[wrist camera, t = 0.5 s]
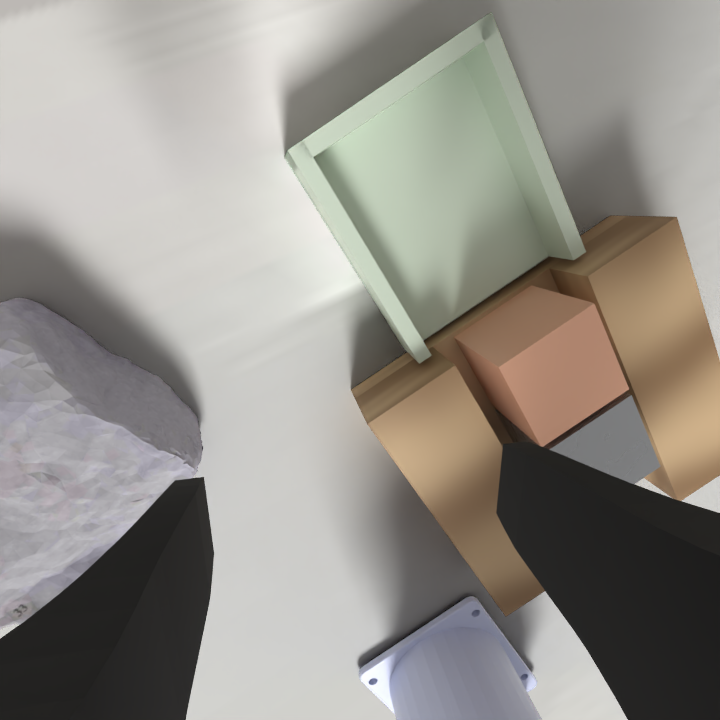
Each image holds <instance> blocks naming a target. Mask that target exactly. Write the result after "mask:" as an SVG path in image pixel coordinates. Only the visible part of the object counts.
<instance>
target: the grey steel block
mask: <svg viewBox="0 0 720 720" xmlns="http://www.w3.org/2000/svg"><path fill="white" fill-rule="evenodd" d="M495 411H496V413H497V414H498V416H499V418H500V420H501V422H502V423H503V425H504V427H505V429H506V430H507V432H508V434H509V436H510V437H511V439H512V441H513V443H515V442H524V441H526V442H529V443H533V444H536V445H538V444H537V443H536V442H534V441H533V440H532V439H531V438H530V437H529V436H527V435H526V434H525V433H524V432H523V431H522V430H520V429H519V428H518V427H517V426H516V425H515V424H513V423H512V422H511V421H510V420H509V419H508V418H506V417H505V416H504V415H503V414H502V413H501V412H500V411H498V410H497V409H496V410H495ZM543 447H544V448H547V449H549V450H552V451H554V452H557V453H559V454H561V455H564V456H566V457H569V458H571V459H573V460H576V461H578V462H581V463H583V464H585V465H588V466H590V467H592V468H595V469H597V470H600V471H602V472H604V473H607V474H609V475H612V476H614V477H617V478H619V479H622V480H624V481H627V482H629V483H632V484H635V483H637V482H638V481H640V480H641V479H643V478H644V477H646V476H647V475H649V474H650V473H652V472H653V471H655V470H656V469H658V468H659V467H661V466H660V464H659V461H658V459H657V456H656V454H655V451H654V449H653V446H652V444H651V441H650V439H649V437H648V434H647V432H646V429H645V427H644V424H643V422H642V419H641V417H640V414H639V412H638V410H637V407H636V405H635V402H634V400H633V397H632V395H631V394H629V393H627V392H624V393H623V394H621V395H620V396H618V397H617V398H615V399H614V400H612V401H611V402H609V403H608V404H606V405H605V406H603V407H602V408H600V409H599V410H597V411H596V412H594V413H593V414H591V415H590V416H588V417H587V418H585V419H584V420H582V421H581V422H579V423H578V424H576V425H575V426H573V427H572V428H570V429H569V430H567V431H566V432H564V433H563V434H561V435H560V436H558V437H557V438H555V439H554V440H552V441H551V442H549V443H548V444H546V445H545V446H543Z"/></svg>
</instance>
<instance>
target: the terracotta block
mask: <svg viewBox="0 0 720 720" xmlns="http://www.w3.org/2000/svg"><path fill="white" fill-rule="evenodd" d="M454 338H455V340H456V342H457V344H458V345H459V347H460V349H461V351H462V353H463V354H464V356H465V358H466V360H467V361H468V363H469V365H470V367H471V368H472V370H473V372H474V374H475V376H476V377H477V379H478V381H479V383H480V384H481V386H482V388H483V390H484V391H485V393H486V395H487V397H488V399H489V400H490V402H491V404H492V405H493V406H494V407H495V408H496V409H497V410H498V411H500V412H501V413H502V414H503V415H504V416H505V417H506V418H508V419H509V420H510V421H511V422H512V423H513V424H515V425H516V426H517V427H518V428H519V429H520V430H522V431H523V432H524V433H525V434H526V435H527V436H529V437H530V438H531V439H532V440H533V441H534V442H536V443H537V444H538V445H539V446H541V447H543V446H545V445H546V444H548V443H549V442H551V441H552V440H554V439H555V438H557V437H558V436H560V435H561V434H563V433H564V432H566V431H567V430H569V429H570V428H572V427H573V426H575V425H576V424H578V423H579V422H581V421H582V420H584V419H585V418H587V417H588V416H590V415H591V414H593V413H594V412H596V411H597V410H599V409H600V408H602V407H603V406H605V405H606V404H608V403H609V402H611V401H612V400H614V399H615V398H617V397H618V396H620V395H621V394H623V393H624V392H626V391H627V390H629V387H628V385H627V382H626V380H625V378H624V375H623V373H622V370H621V368H620V365H619V363H618V360H617V358H616V355H615V353H614V350H613V348H612V346H611V343H610V341H609V338H608V336H607V333H606V331H605V328H604V326H603V323H602V321H601V318H600V316H599V314H598V311H597V309H596V306H595V304H594V303H591V302H588V301H584V300H581V299H577V298H574V297H570V296H567V295H563V294H560V293H556V292H553V291H549V290H546V289H542V288H539V287H536V286H532V285H531V286H529V287H528V288H526V289H525V290H523V291H522V292H521V293H519V294H518V295H516V296H515V297H513V298H512V299H510V300H509V301H507V302H506V303H504V304H503V305H501V306H500V307H498V308H497V309H495V310H494V311H492V312H491V313H489V314H488V315H486V316H485V317H483V318H482V319H480V320H479V321H477V322H476V323H474V324H473V325H471V326H470V327H468V328H467V329H465V330H464V331H462V332H461V333H459V334H458V335H456V336H455V337H454Z"/></svg>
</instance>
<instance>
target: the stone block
mask: <svg viewBox="0 0 720 720" xmlns="http://www.w3.org/2000/svg"><path fill="white" fill-rule="evenodd" d="M202 450H203V446H202V441H201V432H200V429H199V425H198V417H197V416H196V415H195V414H194V413H193V411H192V410H191V409H190V408H189V407H188V406H187V405H186V404H184V403H183V402H182V400H181V399H180V398H179V397H178V396H177V395H176V394H175V392H174V391H173V390H172V388H171V387H170V386H169V385H168V384H166V383H165V382H164V381H163V380H162V379H161V378H160V377H159V376H157V375H154V374H151V373H150V372H148V371H146V370H144V369H142V368H140V367H138V366H137V365H135V364H133V363H132V362H131V361H130V360H129V359H127V358H124V357H120V356H117V355H114V354H111V353H110V352H109V351H107V350H106V349H105V348H104V347H102V346H100V345H99V344H98V343H97V342H96V341H95V340H94V339H93V338H92V337H91V336H89V335H87V334H86V333H85V332H84V331H83V330H82V329H80V328H79V327H77V326H75V325H74V324H72V323H71V322H69V321H68V320H66V319H65V318H63V317H61V316H60V315H58V314H56V313H54V312H53V311H51V310H49V309H47V308H46V307H45V306H44V305H43V304H40V303H37V302H34V301H32V300H30V299H25V298H14V299H10V300H7V301H4V302H0V630H1V629H3V628H6V627H8V626H11V625H13V624H19V625H20V624H22V623H23V622H24V621H26V620H27V619H28V618H29V617H31V616H32V615H33V614H35V613H36V612H37V611H38V610H40V609H41V608H42V607H43V606H45V605H46V604H47V603H48V602H50V601H51V600H52V599H53V598H55V597H56V596H57V595H58V594H60V593H61V592H62V591H63V590H64V589H66V588H67V587H68V586H69V585H70V584H71V583H73V582H74V581H75V580H76V579H77V578H78V577H80V576H81V575H82V574H83V573H84V572H85V571H86V570H87V569H88V568H89V567H90V566H92V565H93V564H94V563H95V562H96V561H97V560H98V559H99V558H100V557H101V556H102V555H103V554H104V553H105V552H106V551H107V550H108V549H110V548H111V547H112V546H113V545H114V544H115V543H116V542H117V541H118V540H119V539H120V538H121V537H122V536H123V535H124V534H125V533H126V532H127V531H128V530H129V529H130V528H131V527H132V526H133V525H134V523H135V522H136V521H137V520H138V519H139V518H140V517H141V516H142V515H143V514H144V513H145V512H146V511H147V510H148V509H149V508H150V506H151V505H152V504H153V503H154V502H155V501H156V500H157V499H158V498H159V497H160V496H161V494H162V493H163V492H164V491H165V490H166V489H167V488H168V487H169V486H170V485H171V484H172V483H173V482H174V481H175V480H182V479H191V478H192V477H193V476H194V475H195V474H196V472H197V471H198V470H197V468H198V465H199V463H200V461H201V456H202Z"/></svg>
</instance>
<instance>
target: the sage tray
mask: <svg viewBox="0 0 720 720" xmlns="http://www.w3.org/2000/svg"><path fill="white" fill-rule="evenodd" d="M285 159H286V161H287V162H288V164H289V166H290V167H291V169H292V170H293V172H294V174H295V175H296V177H297V178H298V180H299V182H300V183H301V185H302V186H303V188H304V190H305V191H306V193H307V194H308V196H309V198H310V199H311V201H312V202H313V204H314V206H315V207H316V209H317V211H318V212H319V214H320V215H321V217H322V219H323V220H324V222H325V223H326V225H327V227H328V228H329V230H330V231H331V233H332V235H333V236H334V238H335V239H336V241H337V243H338V244H339V246H340V247H341V249H342V251H343V252H344V254H345V255H346V257H347V259H348V260H349V262H350V263H351V265H352V267H353V268H354V270H355V271H356V273H357V275H358V276H359V278H360V279H361V281H362V283H363V284H364V286H365V287H366V289H367V291H368V292H369V294H370V295H371V297H372V299H373V300H374V302H375V303H376V305H377V307H378V308H379V310H380V311H381V313H382V315H383V316H384V318H385V319H386V321H387V323H388V324H389V326H390V327H391V329H392V331H393V332H394V334H395V335H396V337H397V339H398V340H399V342H400V344H401V345H402V347H403V348H404V349H405V350H406V351H407V352H408V353H409V354H410V355H411V356H412V357H413V358H414V359H415V360H416V361H417V362H418V363H419V364H420V363H421V362H423V361H424V360H426V359H427V358H429V357H430V356H432V355H431V353H430V352H429V350H428V348H427V347H426V345H425V343H424V342H423V340H425V339H426V338H428V337H429V336H431V335H432V334H434V333H435V332H437V331H438V330H440V329H441V328H442V327H444V326H445V325H447V324H448V323H450V322H451V321H453V320H454V319H456V318H457V317H459V316H460V315H462V314H463V313H465V312H466V311H468V310H469V309H471V308H472V307H474V306H475V305H477V304H478V303H480V302H481V301H483V300H484V299H486V298H487V297H489V296H490V295H492V294H493V293H495V292H496V291H498V290H499V289H501V288H502V287H504V286H505V285H507V284H508V283H510V282H511V281H513V280H514V279H515V278H517V277H518V276H520V275H521V274H523V273H524V272H526V271H527V270H529V269H530V268H532V267H533V266H535V265H536V264H538V263H539V262H541V261H542V260H544V259H545V258H547V257H548V256H550V257H556V258H562V259H568V260H575V259H576V258H578V257H579V256H581V255H582V254H584V253H585V252H586V250H585V248H584V245H583V243H582V240H581V238H580V235H579V232H578V230H577V227H576V225H575V222H574V220H573V217H572V215H571V212H570V210H569V207H568V205H567V202H566V200H565V197H564V194H563V192H562V189H561V187H560V184H559V182H558V179H557V177H556V174H555V172H554V169H553V167H552V164H551V161H550V159H549V156H548V154H547V151H546V149H545V146H544V144H543V141H542V139H541V136H540V134H539V131H538V129H537V126H536V123H535V121H534V118H533V116H532V113H531V111H530V108H529V106H528V103H527V101H526V98H525V96H524V93H523V91H522V88H521V85H520V83H519V80H518V78H517V75H516V73H515V70H514V68H513V65H512V63H511V60H510V58H509V55H508V52H507V50H506V47H505V45H504V42H503V40H502V37H501V35H500V32H499V30H498V27H497V25H496V22H495V20H494V17H493V14H492V12H490V13H489V14H487V15H486V16H484V17H483V18H482V19H480V20H479V21H477V22H476V23H474V24H473V25H471V26H470V27H468V28H467V29H465V30H464V31H462V32H461V33H459V34H458V35H456V36H455V37H454V38H452V39H451V40H449V41H448V42H446V43H445V44H443V45H442V46H440V47H439V48H437V49H436V50H434V51H433V52H431V53H430V54H428V55H427V56H426V57H424V58H423V59H421V60H420V61H418V62H417V63H415V64H414V65H412V66H411V67H409V68H408V69H406V70H405V71H403V72H402V73H400V74H399V75H398V76H396V77H395V78H393V79H392V80H390V81H389V82H387V83H386V84H384V85H383V86H381V87H380V88H378V89H377V90H375V91H374V92H372V93H371V94H370V95H368V96H367V97H365V98H364V99H362V100H361V101H359V102H358V103H356V104H355V105H353V106H352V107H350V108H349V109H347V110H346V111H344V112H343V113H342V114H340V115H339V116H337V117H336V118H334V119H333V120H331V121H330V122H328V123H327V124H325V125H324V126H322V127H321V128H319V129H318V130H316V131H315V132H314V133H312V134H311V135H309V136H308V137H306V138H305V139H303V140H302V141H300V142H299V143H297V144H296V145H294V146H293V147H291V148H290V149H288V150H287V153H286V155H285Z"/></svg>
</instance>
